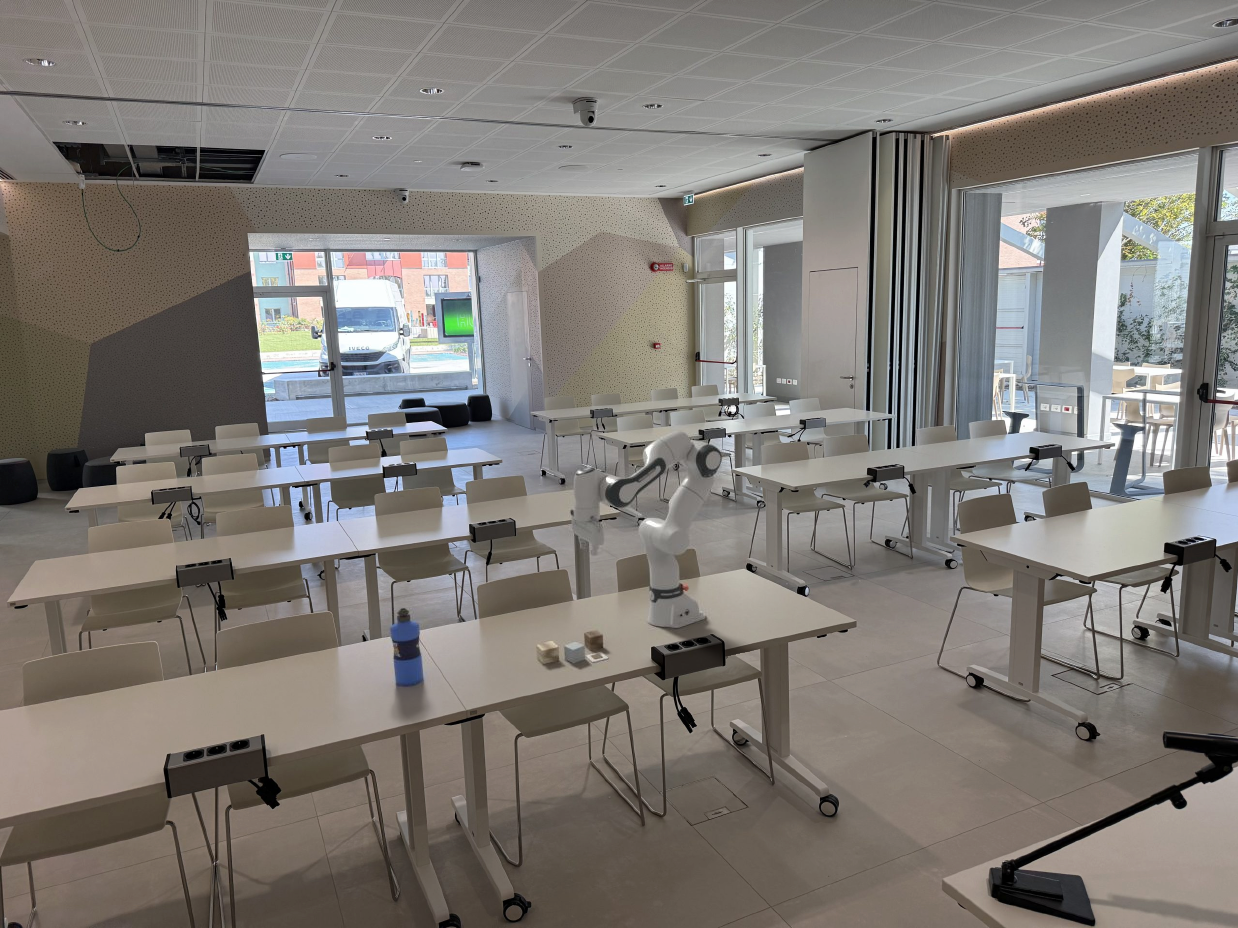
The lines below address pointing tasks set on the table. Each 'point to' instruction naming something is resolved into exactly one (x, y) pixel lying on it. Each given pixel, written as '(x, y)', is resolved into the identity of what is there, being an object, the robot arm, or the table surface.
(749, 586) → the table surface
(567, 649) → the grey block
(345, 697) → the table surface
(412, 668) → the water bottle
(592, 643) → the walnut block
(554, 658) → the maple base
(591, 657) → the swatch
